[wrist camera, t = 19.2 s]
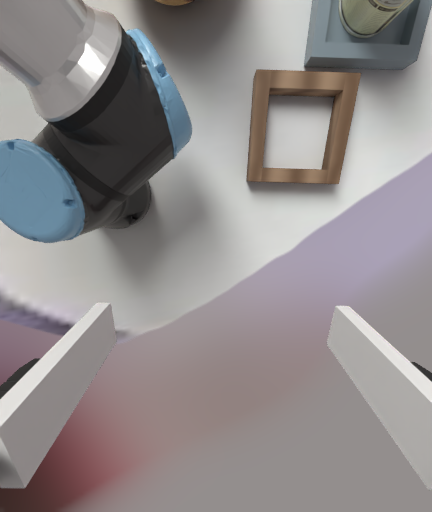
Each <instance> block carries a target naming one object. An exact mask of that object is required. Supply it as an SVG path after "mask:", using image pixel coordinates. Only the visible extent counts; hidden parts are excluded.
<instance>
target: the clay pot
mask: <svg viewBox="0 0 432 512" xmlns="http://www.w3.org/2000/svg"><path fill="white" fill-rule="evenodd" d="M155 1H157V2H159V3H162V4H166V5H184V4H187V3H190V2H192V1H194V0H155Z"/></svg>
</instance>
